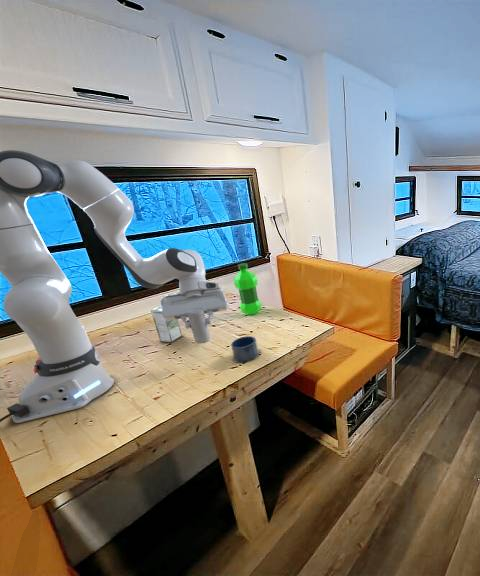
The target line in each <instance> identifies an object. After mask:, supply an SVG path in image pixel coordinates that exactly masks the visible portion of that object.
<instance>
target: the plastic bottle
mask: <svg viewBox="0 0 480 576" xmlns="http://www.w3.org/2000/svg"><path fill="white" fill-rule="evenodd" d="M237 268H238V270H239V272H238V273H237V274H236V275H235V277H234V279H233V283H234V287H235V288H236V289H238V293H239V298H240V304H239V307H240V311H241V313H244V314H246V315H248V316H251V315H252V316H253V315H255V314H258V312H259V311H260V310H261V308H262V302H261V300H260V299H259V297H258V292H257V286H258V277H257V275H256V274H255V273H253V272H251V271H249V270H248V269H249V266H248V263H247V262H242V263H238V264H237Z"/></svg>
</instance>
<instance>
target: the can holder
mask: <svg viewBox="0 0 480 576" xmlns="http://www.w3.org/2000/svg"><path fill="white" fill-rule="evenodd" d="M230 348H231V350H232V355H233V358H234V361H235V362H237V363H247V362H250V361H252V360H254V359H256V358H258V355H259V348H258V344H257V339H256V337H255V336H252V335H251V336H249V335H248V336H241V337H239V338H237V339H235V340H233V341H232V342H231V344H230Z"/></svg>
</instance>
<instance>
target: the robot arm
mask: <svg viewBox="0 0 480 576" xmlns="http://www.w3.org/2000/svg"><path fill="white" fill-rule="evenodd" d="M53 193H59V194H61V195H64V196H65V197H67V198H68V199H69V200H71V201H72V202H73V203H74V204H76V205H77V206H78V207H79V208H80V209H82V210H83V212H84V213H86V214H87V216H88V217H89V218H90V219H91V221H92V223H93V226H94V227H93V229H94V232H95V235H96V236H97V237H98V239H99V240H100V241H101V242H102V243H103V244H104V246H105V247H106V249H108V250H109V251H110V252H111V254H113V255H114V256H115V258H116V259H117V260H118V261H119V262H120V263H121V264H122V265H123V266H124V268H126V269H127V271H128V272H129V274H130V275H131V277H132V278H133V280H134V281H135V282H136V283H137V284H138V285H139V286H141V287H143V288H145V289H150V290H155V289H158V288H160V287H162V286H164V285H165V284H166V283H168V282H171V281H173V280H175V279H176V280H178V281H179V282H178V288H179V293H173V294H167V295H165V296H163V297H161V299H160V306H162V316H163V318H164V319H165V320H167V321H170V320H175V319H178V320H181V321H182V322H183V323H184V324H185V325H184V326H185V327H184V328H185V329H191V325H190V322H189V321H187V320H188V311H189V310H191V309H195V308H202V309H203V311H204V315H207V314H208V317H207V318H205V320H206V324H207V326H208V325H212V319H213V317H214V313H218V312H219V313H220V312H224V311H227V310H228V309H229V303H228V300H227V297H226V294H225V292H224V290H222V287H221V285H220V283H219V282H213V281H207V279H206V268H205V263H204V259H203V257H202V256H201V254H200V253H199V252H197V250H193V249H179V248H176V247H170V248H168V249H165V250H163V251H161V252H158V253H157V254H155V255H153V256H151V257H149V258H144V257H142V256H141V255H140V253H139V252H138V251H137V250H136V249H135V248H134V246H133V245H132V244H131V243H130V241H128V240H127V237H126V230H127V228H128V226H130V224H131V222H132V220H133V218H134V213H135V207H134V203H133V202H132V201H131V199H130V198H129V197H128V196H127V194H125V193H124V191H122V190H121V189H120V188H119V187H118V186H117V185H116V184H115V183H114V182H113V181H112V180H110V179H109V178H108V177H107V175H105V174H103V172H101V171H100V170H99V169H97V168H96V167H94V166H93V165H91V164H90V163H89V162H86V161H84V160H79V159H72V160H66V161H64V162H61V163H58V164H57V163H55V162H51V161H50V160H47V159H44V158H42V157H39V156H37V155H35V154H33V153H31V152H26V151H23V150H15V149H12V150H11V149H9V150H2V151H0V274H1V275H2V276H3V277H4V278H5V279H6V280H7V282H8V283H9V284H10V289H9V290H8V291H7V293H5V295H4V299H3V310H4V312H5V314H6V316H8V317H9V319H11V320H13V321H15V323H16V324H17V325H18V326H19V327H20V329H21V330H22V331H23V332H24V334H25V335H26V336H27V337H28V338H29V340H30V341H31V344H32V345H33V346H34V349H35V351H36V353H37V355H38V356H39V357H38V358H37V359H36V361H35V364H34V368H33V373H34V374H35V376H34V377H33V378H32V379H31V380H30V381H29V382H28V383H27V384H26V385H25V386H24V387H23V388H22V390H21V391H20V393H19V396H18V403H17V402H16V403H14V404H12V405H10V406H7V407H6V410H7V411H8V414H6V415H5V416H3V417H1V418H0V423H1V422H3V421H4V420H6V419H9V418H10V417H11V419H12V421H13V422H14V423H15V424H21V423H25V422H29V421H33V420H38V419H41V418H45V417H50V416H53V415H57V414H61V413H65V412H70V411H74V410H78V409H81V408H83V407H84V406H87V404H89V403H90V402H91V401H92V400H94V399H96V398H98V397H100V396H101V395H103V394H105V393H106V392H107V391H109V389H111V388H112V386H113V385H114V383H115V380H114V378H112V376H111V375H110V374H109V373H108V372H107V371H106V369H105V368H104V367H103V365H102V364H101V359H100V355H99V353H98V350H97V349H96V347H95V346H94V345H93V344H92V343H91V340H90V338H89V336H88V334H87V331H86V328H85V326H84V324H83V323H82V322H81V321H80V320H79V317H77V316H76V314H75V313H74V311H73V309H72V307H71V306H70V298H71V295H72V292H73V288H72V284H71V281H70V280H69V279H68V278H67V276H66V274H65V273H64V271H63V270H62V268H61V267H60V265H59V264H58V262H57V261H56V260H55V258H54V257H53V255H52V254H51V253H50V251H49V250H48V248H47V246H46V244H45V242H44V240H43V237H42V236H41V234H40V232H39V230H38V228H37V226H36V225H35V222H34V220H33V219H32V217H31V214H30V213H29V210H28V207H27V200H28V199H31V198H34V197H41V196H44V195H48V194H53Z"/></svg>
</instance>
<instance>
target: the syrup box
mask: <svg viewBox="0 0 480 576" xmlns="http://www.w3.org/2000/svg"><path fill="white" fill-rule="evenodd" d="M150 313H151V316H152V319H153V322H154V326H155V329H156V333H157V335H158V339H159V341H160V342H164V343H165V342H166V343H173V342H174V341H176V340H178V339H179V338H180V337H182V336H183V334H182V330H181V327H180V323H179V319H175V320H170V321H167V320H165V319H164V318H163V316H162V306H161V305H159V306H157V307H154V308H153V309H150Z"/></svg>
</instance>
